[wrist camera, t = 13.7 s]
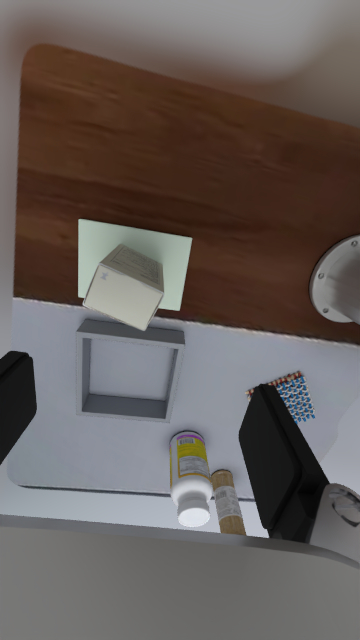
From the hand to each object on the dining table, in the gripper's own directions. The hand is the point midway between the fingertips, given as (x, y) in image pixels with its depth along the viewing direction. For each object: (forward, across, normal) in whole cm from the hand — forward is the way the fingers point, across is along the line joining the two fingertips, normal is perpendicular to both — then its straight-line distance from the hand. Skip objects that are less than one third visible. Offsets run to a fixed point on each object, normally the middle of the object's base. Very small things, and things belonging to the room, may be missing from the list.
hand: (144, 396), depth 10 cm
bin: (+25, +4, +16) cm, 30 cm away
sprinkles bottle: (+26, -18, +42) cm, 52 cm away
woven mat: (+27, -23, +20) cm, 41 cm away
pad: (+25, +4, 0) cm, 26 cm away
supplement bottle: (+26, -8, +32) cm, 42 cm away
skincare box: (+24, +4, 0) cm, 25 cm away
